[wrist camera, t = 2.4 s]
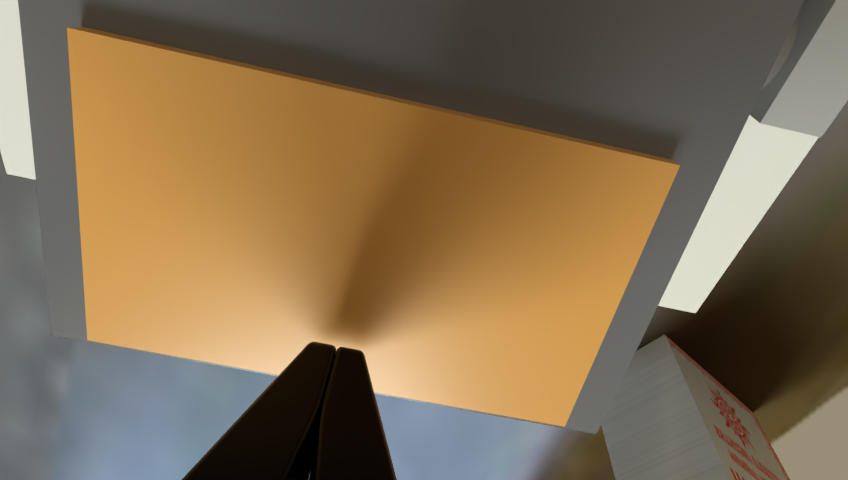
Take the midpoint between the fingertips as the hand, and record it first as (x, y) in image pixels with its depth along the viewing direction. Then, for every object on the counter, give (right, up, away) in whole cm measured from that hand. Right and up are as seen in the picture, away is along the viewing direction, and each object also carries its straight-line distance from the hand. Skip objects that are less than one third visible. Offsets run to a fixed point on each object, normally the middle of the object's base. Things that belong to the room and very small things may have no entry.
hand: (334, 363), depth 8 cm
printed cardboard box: (+12, -5, +15) cm, 20 cm away
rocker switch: (+1, +6, -1) cm, 6 cm away
